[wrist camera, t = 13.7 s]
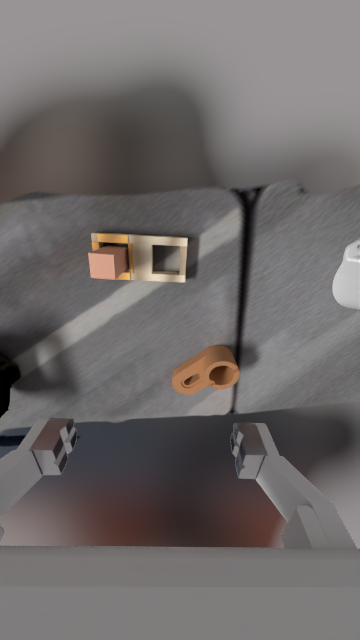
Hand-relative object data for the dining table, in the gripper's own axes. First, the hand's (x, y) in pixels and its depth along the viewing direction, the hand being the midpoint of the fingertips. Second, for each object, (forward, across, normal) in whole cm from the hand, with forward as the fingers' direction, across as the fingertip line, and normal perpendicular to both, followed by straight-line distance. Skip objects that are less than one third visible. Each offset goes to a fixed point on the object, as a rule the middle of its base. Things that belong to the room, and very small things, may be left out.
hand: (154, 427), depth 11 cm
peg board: (+37, +6, -2) cm, 38 cm away
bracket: (+38, -9, +26) cm, 47 cm away
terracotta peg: (+37, +11, -2) cm, 39 cm away
